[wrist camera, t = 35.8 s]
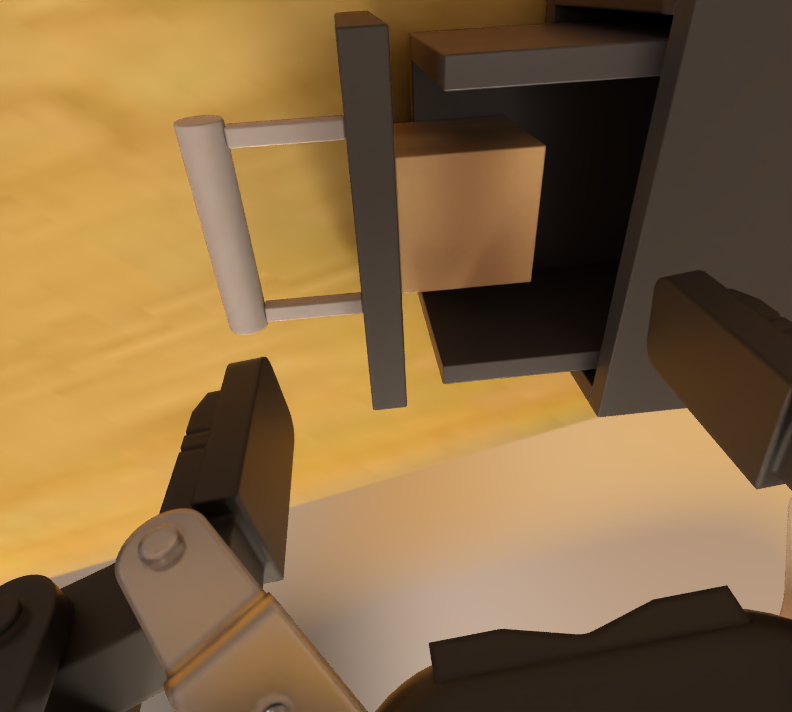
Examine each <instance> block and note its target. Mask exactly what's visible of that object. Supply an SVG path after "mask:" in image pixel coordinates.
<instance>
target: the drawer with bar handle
mask: <svg viewBox="0 0 792 712" xmlns="http://www.w3.org/2000/svg"><path fill="white" fill-rule="evenodd" d="M334 17H335V32H336V42H337V52H338V62H339V72H340V82H341V92H342V102H343V112H344V116H342V115H338V116H324V117H310V118H297V119H283V120H270V121H256V122H243V123H229V124H227V125H226V126H225V124H224V119H223V118H222V117H221V116H217V115H201V116H193V117H187V118H183V119H180V120H177V121H176V122H174V129H175V132H176V136H177V139H178V143H179V147H180V150H181V154H182V157H183V161H184V165H185V168H186V172H187V175H188V179H189V183H190V186H191V190H192V193H193V197H194V201H195V204H196V208H197V211H198V215H199V219H200V222H201V226H202V229H203V233H204V237H205V240H206V244H207V247H208V251H209V255H210V258H211V262H212V265H213V269H214V273H215V276H216V280H217V283H218V287H219V291H220V294H221V298H222V301H223V305H224V309H225V312H226V316H227V319H228V323H229V327H230V329H231V331H232V332H234V333H236V334H240V335H248V334H253V333H256V332H259V331H261V330H263V329H264V328H265V327H266V326H267V325H268V322H273V321H284V320H294V319H305V318H316V317H326V316H337V315H348V314H359V313H364V323H365V333H366V343H367V353H368V363H369V373H370V384H371V394H372V404H373V409H374V410H381V409H391V408H400V407H406V406H407V395H406V374H405V354H404V334H403V313H402V293H401V272H400V252H399V232H398V211H397V191H396V170H395V150H394V129H393V109H392V89H391V68H390V48H389V27H388V25H387V24H386V23H385V22H383V21H382V20H380V19H379V18H377V17H376V16H374V15H373V14H371V13H370V12H368V11H357V12H341V13H335V15H334ZM673 17H674V15H670V16H655V17H639V18H624V19H609V20H594V21H579V22H563V23H548V24H533V25H518V26H503V27H487V28H472V29H457V30H442V31H427V32H412V33H409V35H408V41H409V74H410V107H411V122H421V121H434V120H447V119H461V118H474V117H487V116H500V115H505V116H507V117H508V118H509V119H511V120H512V121H513V122H515V123H516V124H517V125H519V126H520V127H521V128H523V129H524V130H525V131H527V132H528V133H530V134H531V135H532V136H534V137H535V138H536V139H538V140H539V141H540V142H542V143H543V144H544V145H546V151H545V160H544V169H543V178H542V187H541V196H540V205H539V214H538V223H537V232H536V241H535V250H534V259H533V267H532V276H531V282H523V283H512V284H501V285H491V286H480V287H469V288H458V289H448V290H437V291H426V292H418V296H419V299H420V303H421V306H422V310H423V314H424V317H425V321H426V324H427V328H428V331H429V335H430V339H431V342H432V346H433V349H434V353H435V357H436V360H437V364H438V367H439V371H440V375H441V378H442V382H443V384H450V383H459V382H469V381H479V380H489V379H499V378H509V377H519V376H529V375H538V374H548V373H558V372H568V371H578V370H588V369H597V365H598V360H599V356H600V351H601V347H602V342H603V337H604V333H605V328H606V324H607V319H608V314H609V310H610V305H611V301H612V296H613V292H614V287H615V282H616V278H617V273H618V269H619V264H620V259H621V255H622V250H623V246H624V241H625V237H626V232H627V227H628V223H629V218H630V214H631V209H632V205H633V200H634V195H635V191H636V186H637V182H638V177H639V172H640V168H641V163H642V159H643V154H644V150H645V145H646V140H647V136H648V131H649V127H650V122H651V117H652V113H653V108H654V104H655V99H656V95H657V90H658V85H659V81H660V76H661V72H662V67H663V63H664V58H665V53H666V49H667V44H668V40H669V35H670V30H671V26H672V21H673ZM345 139H346V142H347V152H348V162H349V173H350V183H351V193H352V203H353V213H354V223H355V233H356V243H357V253H358V263H359V273H360V283H361V292H358V293H347V294H336V295H325V296H314V297H303V298H292V299H281V300H270V301H266V303H265V302H264V297H263V293H262V289H261V284H260V280H259V275H258V271H257V266H256V262H255V257H254V253H253V248H252V244H251V240H250V235H249V231H248V226H247V222H246V217H245V213H244V208H243V204H242V199H241V195H240V191H239V186H238V182H237V177H236V173H235V168H234V164H233V159H232V155H231V150H230V149H232V148H245V147H258V146H271V145H284V144H297V143H310V142H324V141H337V140H345Z"/></svg>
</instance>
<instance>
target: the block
mask: <svg viewBox="0 0 792 712" xmlns="http://www.w3.org/2000/svg"><path fill="white" fill-rule="evenodd" d="M393 129H394V150H395V170H396V191H397V211H398V232H399V252H400V272H401V293H402V294H405V293H416V292H426V291H437V290H448V289H458V288H469V287H480V286H491V285H501V284H512V283H523V282H531V276H532V267H533V259H534V250H535V241H536V232H537V223H538V214H539V205H540V196H541V187H542V178H543V169H544V160H545V151H546V145H544V144H543V143H542V142H540V141H539V140H538V139H536V138H535V137H534V136H532V135H531V134H530V133H528V132H527V131H525V130H524V129H523V128H521V127H520V126H519V125H517V124H516V123H515V122H513V121H512V120H511V119H509V118H508V117H507V116H505V115H500V116H487V117H474V118H461V119H447V120H434V121H421V122H408V123H395V124H393Z"/></svg>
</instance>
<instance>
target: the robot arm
mask: <svg viewBox="0 0 792 712" xmlns="http://www.w3.org/2000/svg"><path fill="white" fill-rule="evenodd" d="M647 351H648V356H649V359H650V362H651V364H652V366H653V368H654V369H655V370H656V372H657V373H658V374H659V375H660V376H661V378H662V379H663V380H664V381H665V382H666V384H667V385H668V386H669V387H670V388H671V389H672V391H673V392H674V393H675V394H676V395H677V396H678V398H679V399H680V400H681V401H682V402H683V404H684V405H685V406H686V407H687V408H688V409H689V411H690V412H691V413H692V414H693V415H694V416H695V418H696V419H697V420H698V421H699V422H700V423H701V425H702V426H703V427H704V428H705V429H706V431H707V432H708V433H709V434H710V435H711V436H712V438H713V439H714V440H715V441H716V442H717V444H718V445H719V446H720V447H721V448H722V449H723V451H724V452H725V453H726V454H727V455H728V456H729V458H730V459H731V460H732V461H733V462H734V463H735V465H736V466H737V467H738V468H739V469H740V471H741V472H742V473H743V474H744V475H745V476H746V478H747V479H748V480H749V481H750V482H751V484H752V485H753V486H754V487H755V488H756V489H761V488H766V487H771V486H776V485H781V484H786V485H787V486H788V487H789V488H790V489H791V490H792V322H791V321H789V320H788V319H787V318H785V317H781V316H780V313H778V312H777V311H776V310H774V309H773V308H771V307H770V306H769V305H767V304H766V303H764V302H763V301H762V300H760V299H758V298H756V297H753V296H750V295H748V294H745V293H742V292H740V291H737V290H735V289H732V288H731V289H727V288H726V287H725V286H723V285H722V284H721V283H719V282H718V281H717V280H715V279H714V278H713V277H711V276H710V275H709V274H707V273H706V272H704V271H702V270H695V271H690V272H685V273H680V274H675V275H670V276H666V277H661V278H659V279H658V280H657V282H656V284H655V287H654V292H653V299H652V306H651V314H650V321H649V328H648V336H647ZM186 434H187V435H186V436H184V439H183V442H182V445H181V452H180V453H179V455H178V458H177V461H176V464H175V467H174V470H173V473H172V476H171V479H170V482H169V485H168V488H167V491H166V495H165V498H164V501H163V504H162V507H161V510H160V513H159V515H157V516H155V517H153V518H151V519H150V520H148V521H146V522H145V523H144V524H142V525H141V526H140V527H139V528H138V529H136V530H135V531H134V532H133V533H132V534H131V535H130V537H129V538H128V539H127V540H126V542H125V543H124V545H123V546H122V548H121V550H120V551H119V553H118V556H117V559H116V562H115V563H113V564H112V565H110V566H108V567H106V568H104V569H102V570H99V571H97V572H95V573H93V574H91V575H89V576H87V577H85V578H83V579H80V580H78V581H76V582H74V583H72V584H70V585H68V586H66V587H63V588H61V589H59V588H58V587H57V586H56V585H55V584H54V583H53V582H52V581H51V580H50V579H49V578H47V577H45V576H42V575H27V576H22V577H19V578H16V579H14V580H11V581H9V582H7V583H5V584H3V585H1V586H0V712H140V708H141V703H142V702H144V701H145V700H147V699H149V698H151V697H153V696H155V695H156V694H158V693H160V692H162V691H164V690H165V693H166V696H167V698H168V700H169V702H170V704H171V706H172V709H173V711H174V712H368V711H367V710H366V709H365V708H364V706H363V705H362V704H361V703H360V701H359V700H358V699H357V698H356V697H355V695H354V694H353V693H352V692H351V690H350V689H349V688H348V687H347V686H346V684H345V683H344V682H343V681H342V679H341V678H340V677H339V676H338V674H337V673H336V672H335V671H334V670H333V668H332V667H331V666H330V665H329V663H328V662H327V661H326V660H325V658H324V657H323V656H322V655H321V654H320V652H319V651H318V650H317V649H316V648H315V646H314V645H313V644H312V643H311V641H310V640H309V639H308V638H307V636H306V635H305V634H304V633H303V632H302V630H301V629H300V628H299V627H298V625H297V624H296V623H295V622H294V620H293V619H292V618H291V617H290V616H289V614H288V613H287V612H286V611H285V609H284V608H283V607H282V606H281V604H280V603H279V602H278V601H277V600H276V599H275V598H274V596H272V595H271V594H270V593H266V592H265V591H264V590H263V584H265V583H270V582H275V581H280V580H283V577H284V564H285V552H286V538H287V527H288V514H289V501H290V489H291V476H292V464H293V451H294V428H293V423H292V418H291V415H290V412H289V409H288V406H287V404H286V401H285V399H284V396H283V394H282V391H281V389H280V386H279V383H278V381H277V378H276V376H275V373H274V371H273V368H272V366H271V364H270V362H269V360H268V359H267V358H266V357H261V358H256V359H251V360H246V361H241V362H236V363H231V364H229V365H228V366H227V369H226V372H225V376H224V380H223V383H222V387H221V390H220V391H215V392H210V393H207V395H206V396H205V397H204V398H203V400H202V401H201V402H200V403H199V404H198V406H197V407H196V408H195V409H194V411H193V412H192V415H191V418H190V421H189V424H188V427H187V430H186ZM786 547H787V548H786V571H785V591H784V598H783V604H782V608H781V612H780V615H779V616H778V615H775V614H771V613H765V612H760V611H754V610H748V609H742V607H741V606H740V604H739V603H738V601H737V600H736V598H735V597H734V595H733V594H732V592H731V591H730V589H729V588H728V586H722V587H716V588H711V589H706V590H701V591H696V592H691V593H685V594H680V595H675V596H670V597H664V598H660V599H654V600H652V601H650V602H648V603H646V604H644V605H642V606H640V607H638V608H636V609H635V610H632V611H631V612H629V613H627V614H625V615H623V616H622V617H619V618H617V619H615V620H613V621H611V622H610V623H608V624H606V625H604V626H602V627H600V628H598V629H596V630H594V631H592V632H590V633H587V634H563V633H549V632H537V631H523V630H510V629H509V630H508V629H498V630H493V631H488V632H483V633H477V634H472V635H467V636H462V637H457V638H451V639H446V640H441V641H436V642H431V643H429V648H430V654H431V661H432V666H429V667H427V668H425V669H424V670H422V671H420V672H418V673H417V674H415V675H414V676H412V677H411V678H410V679H408V680H407V681H405V682H404V683H403V684H401V685H400V686H399V687H398V688H397V689H396V690H395V691H394V692H393V693H392V694H390V695H389V696H388V697H387V699H386V700H385V701H384V702H383V703H382V704H381V706H380V707H379V708H378V709H377V710H376V712H792V496H791V498H790V501H789V505H788V522H787V546H786Z"/></svg>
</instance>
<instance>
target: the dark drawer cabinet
mask: <svg viewBox="0 0 792 712" xmlns="http://www.w3.org/2000/svg"><path fill="white" fill-rule="evenodd" d="M670 15H674V17H673V21H672V26H671V30H670V35H669V40H668V44H667V49H666V53H665V58H664V63H663V67H662V72H661V76H660V81H659V85H658V90H657V95H656V99H655V104H654V108H653V113H652V117H651V122H650V127H649V131H648V136H647V140H646V145H645V150H644V154H643V159H642V163H641V168H640V172H639V177H638V182H637V186H636V191H635V195H634V200H633V205H632V209H631V214H630V218H629V223H628V227H627V232H626V237H625V241H624V246H623V250H622V255H621V259H620V264H619V269H618V273H617V278H616V282H615V287H614V292H613V296H612V301H611V305H610V310H609V314H608V319H607V324H606V328H605V333H604V337H603V342H602V347H601V351H600V356H599V360H598V365H597V369H588V370H578V371H570V373H571V374H572V376H573V377H574V379H575V381H576V382H577V384H578V386H579V387H580V389H581V390H582V392H583V394H584V395H585V397H586V399H587V400H588V402H589V404H590V405H591V407H592V409H593V410H594V412H595V414H596V415H597V417H606V416H616V415H625V414H634V413H644V412H653V411H662V410H671V409H681V408H687V407H686V406H685V405H684V404H683V402H682V401H681V400H680V399H679V398H678V396H677V395H676V394H675V393H674V392H673V391H672V389H671V388H670V387H669V386H668V385H667V384H666V382H665V381H664V380H663V379H662V378H661V376H660V375H659V374H658V373H657V372H656V370H655V369H654V368H653V366H652V364H651V362H650V359H649V356H648V351H647V336H648V328H649V321H650V314H651V306H652V299H653V292H654V287H655V284H656V282H657V280H658V279H659V278H661V277H666V276H670V275H675V274H680V273H685V272H690V271H695V270H702V271H704V272H706V273H707V274H709V275H710V276H711V277H713V278H714V279H715V280H717V281H718V282H719V283H721V284H722V285H723V286H725V287H726V288H727V289H731V288H732V289H735V290H737V291H740V292H742V293H745V294H748V295H750V296H753V297H756V298H758V299H760V300H762V301H763V302H764V303H766V304H767V305H769V306H770V307H771V308H773V309H774V310H776V311H777V312H778V313H780V316H781V317H785V318H787V319H788V320H789V321H791V322H792V0H547V9H546V19H545V24H548V23H563V22H579V21H594V20H609V19H624V18H639V17H655V16H670Z"/></svg>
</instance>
